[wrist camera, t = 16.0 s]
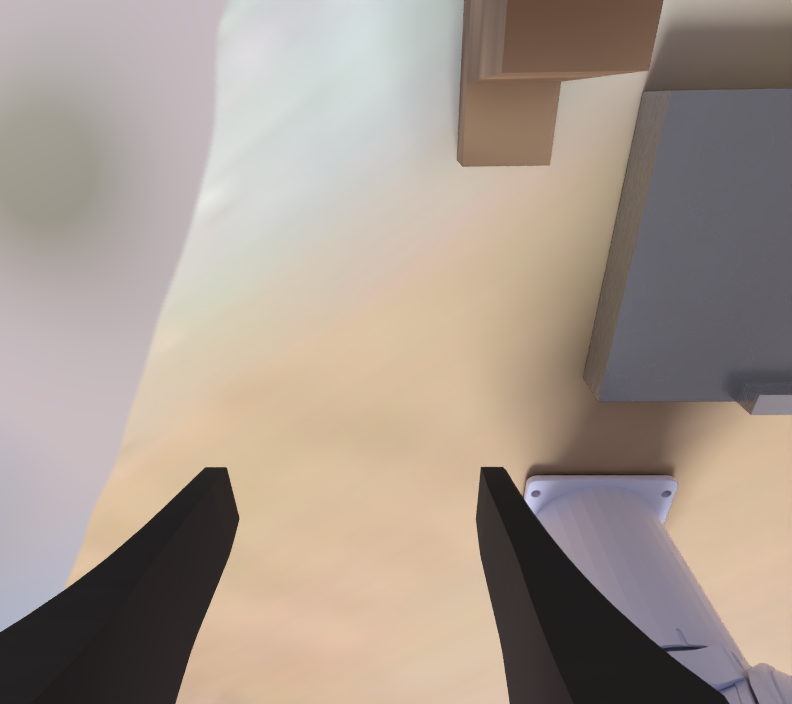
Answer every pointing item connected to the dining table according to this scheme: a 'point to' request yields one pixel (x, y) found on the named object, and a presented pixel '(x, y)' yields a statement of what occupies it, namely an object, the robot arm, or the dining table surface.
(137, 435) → the dining table surface
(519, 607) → the robot arm
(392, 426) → the dining table surface
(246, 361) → the dining table surface
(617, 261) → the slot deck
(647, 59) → the tan stepped block
